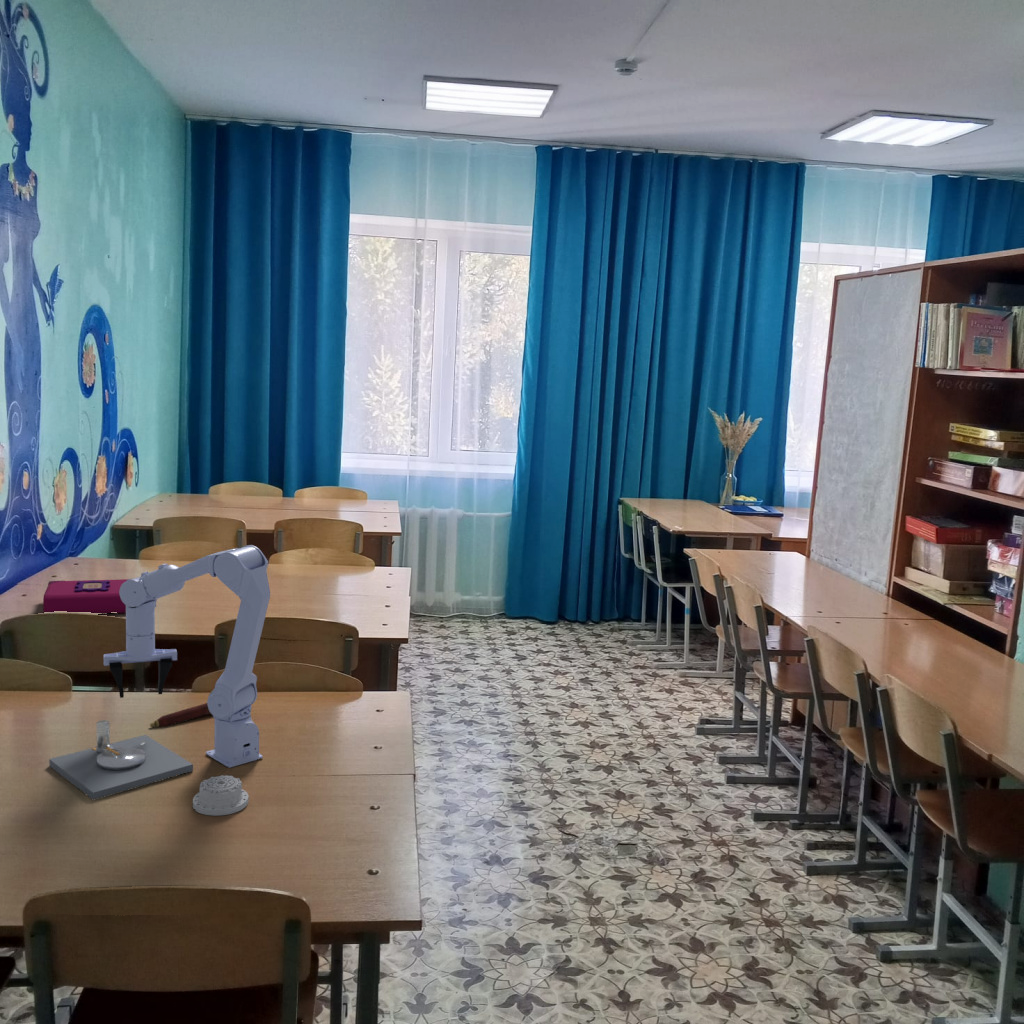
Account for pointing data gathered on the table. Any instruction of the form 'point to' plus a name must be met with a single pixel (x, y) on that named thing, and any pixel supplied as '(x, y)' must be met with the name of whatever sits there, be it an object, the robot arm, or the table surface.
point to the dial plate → (106, 782)
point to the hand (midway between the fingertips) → (140, 694)
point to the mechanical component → (220, 796)
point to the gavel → (182, 715)
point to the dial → (115, 751)
